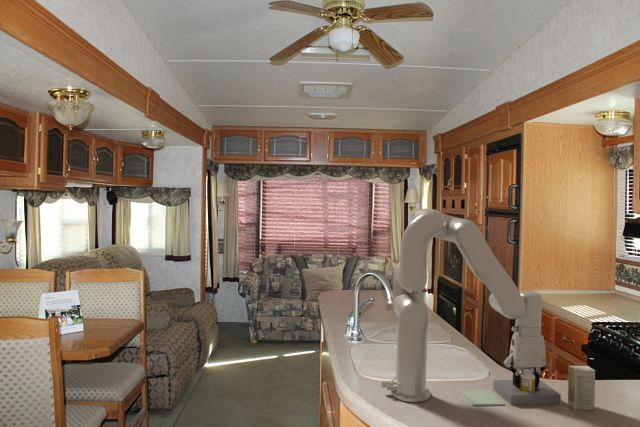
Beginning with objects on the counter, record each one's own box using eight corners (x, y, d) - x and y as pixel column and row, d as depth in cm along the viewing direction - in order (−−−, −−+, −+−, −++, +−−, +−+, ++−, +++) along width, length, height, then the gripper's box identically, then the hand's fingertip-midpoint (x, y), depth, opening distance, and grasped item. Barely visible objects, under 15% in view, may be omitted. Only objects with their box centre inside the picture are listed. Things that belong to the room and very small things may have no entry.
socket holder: (510, 405, 147) (511, 395, 147) (493, 389, 159) (493, 380, 159) (560, 403, 148) (560, 394, 148) (539, 388, 160) (539, 379, 160)
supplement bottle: (521, 400, 151) (522, 370, 150) (513, 392, 156) (514, 363, 156) (537, 399, 151) (539, 369, 151) (528, 392, 156) (530, 363, 156)
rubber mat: (473, 405, 146) (473, 404, 146) (460, 392, 156) (460, 390, 156) (504, 405, 147) (504, 403, 147) (490, 391, 157) (490, 390, 157)
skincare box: (587, 404, 149) (589, 365, 148) (594, 410, 144) (596, 370, 144) (566, 403, 149) (567, 364, 148) (573, 409, 144) (574, 369, 144)
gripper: (507, 333, 148) (505, 391, 149) (560, 333, 150) (558, 390, 150) (496, 327, 156) (494, 381, 156) (546, 326, 157) (544, 381, 158)
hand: (525, 385), depth 153 cm, fingers closed on supplement bottle, 5 cm apart
